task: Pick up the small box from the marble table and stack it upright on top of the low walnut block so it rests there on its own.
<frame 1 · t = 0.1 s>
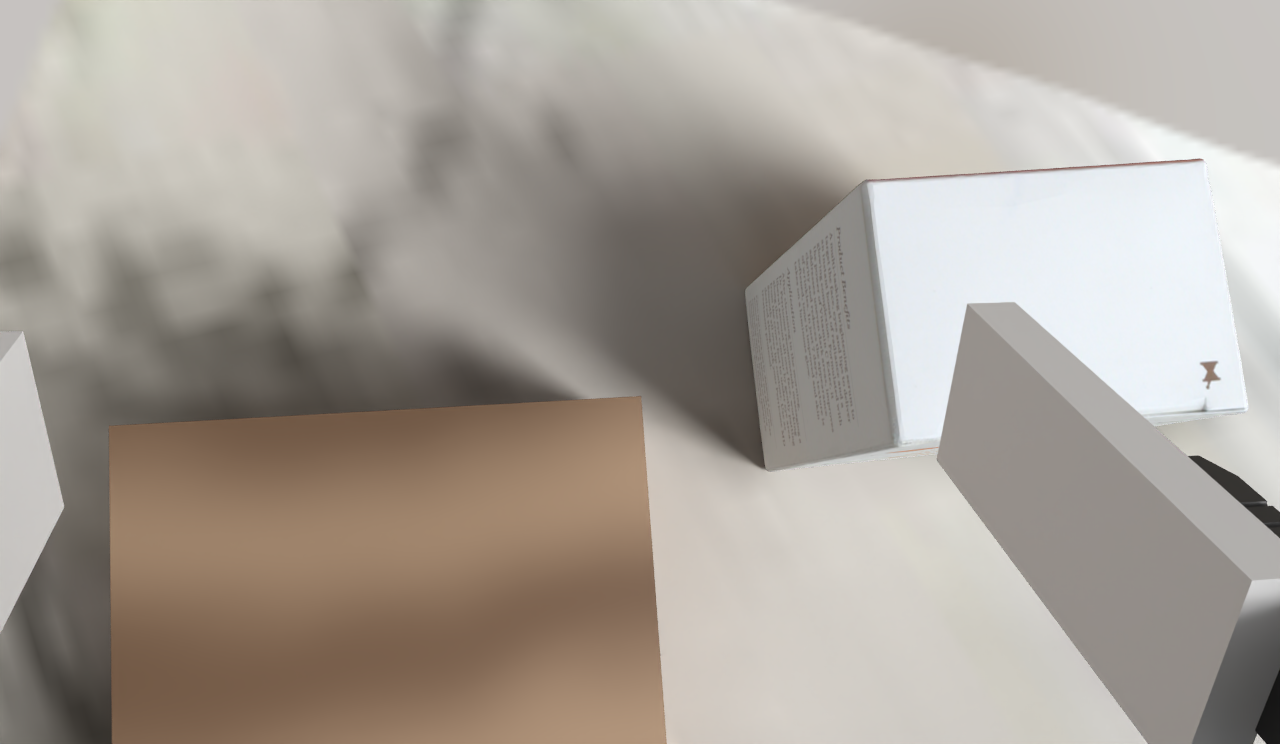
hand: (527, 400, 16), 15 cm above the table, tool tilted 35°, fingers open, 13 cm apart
walnut block: (408, 653, 30), on the table
small box: (876, 369, 33), on the table
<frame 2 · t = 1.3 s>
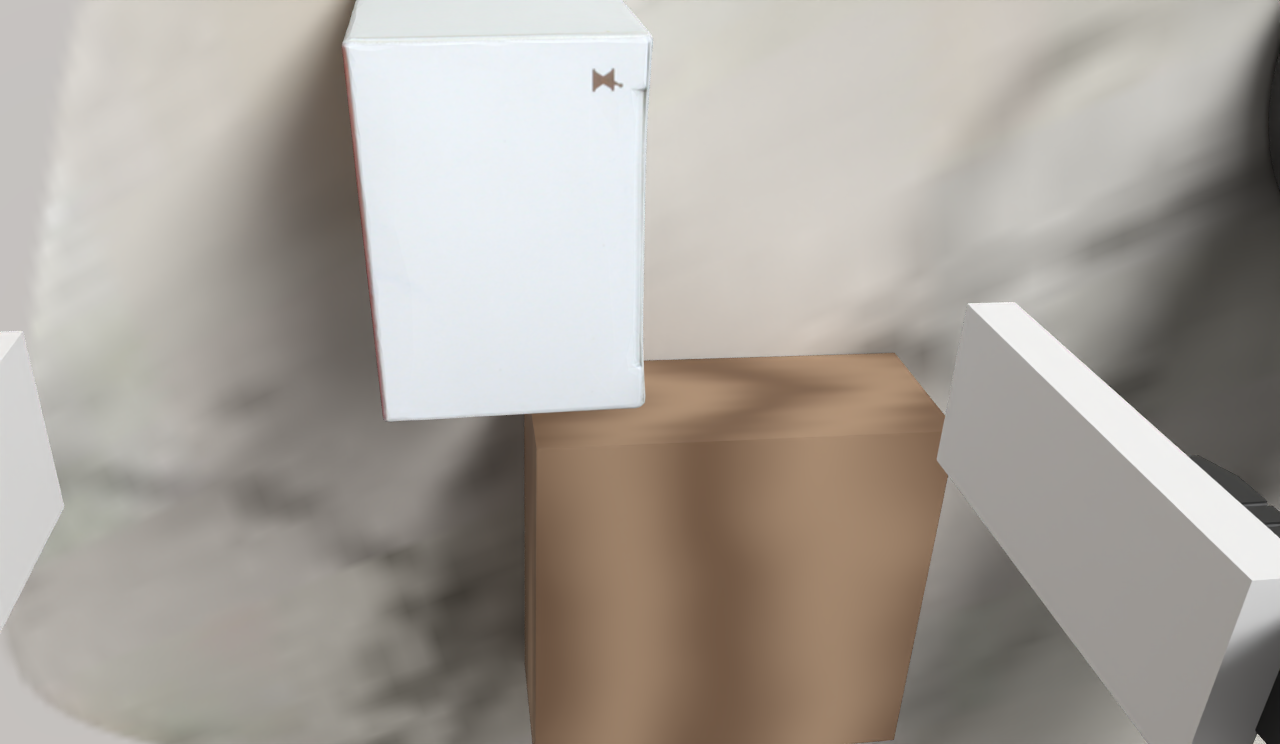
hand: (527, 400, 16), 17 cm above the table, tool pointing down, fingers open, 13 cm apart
walnut block: (700, 515, 38), on the table
small box: (486, 102, 31), on the table
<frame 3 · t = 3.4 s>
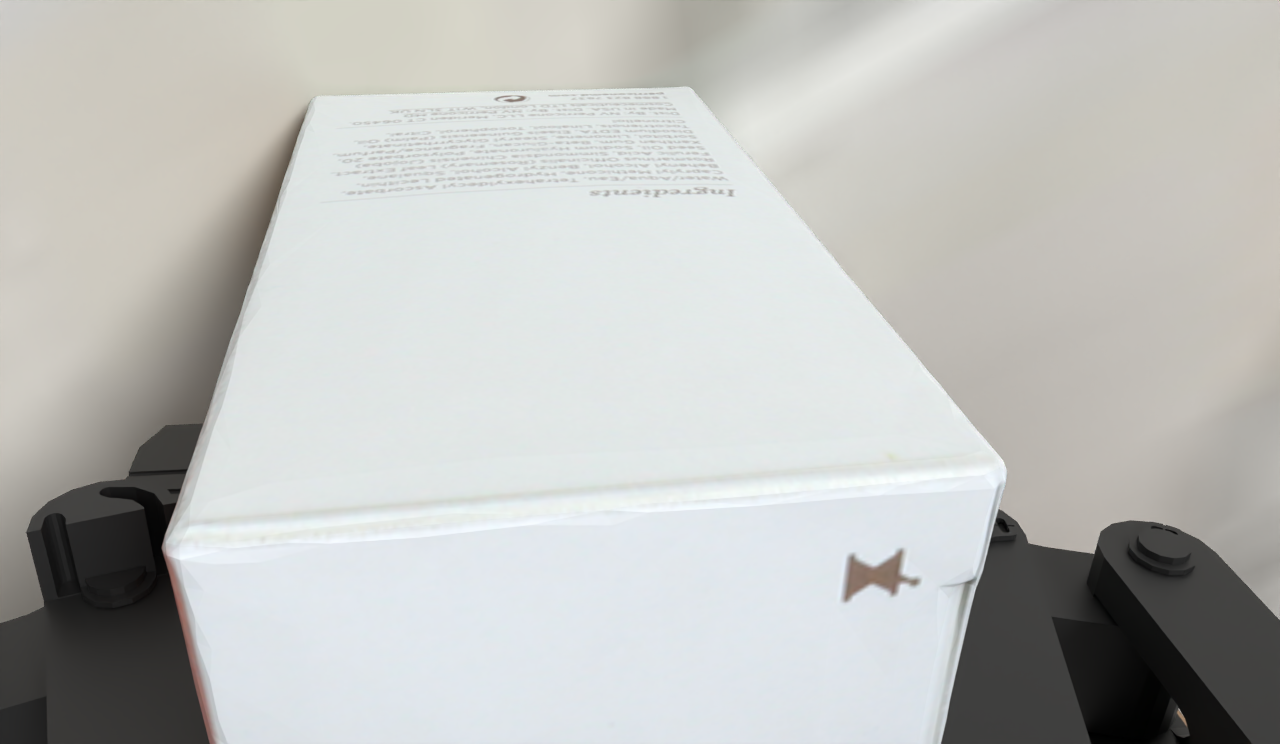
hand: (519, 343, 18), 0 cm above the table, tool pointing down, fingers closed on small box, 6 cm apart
small box: (516, 327, 18), on the table, touching gripper
when the fingers open (6 cm above the table, at t = 7.6 s): small box stays where it is, resting on walnut block.
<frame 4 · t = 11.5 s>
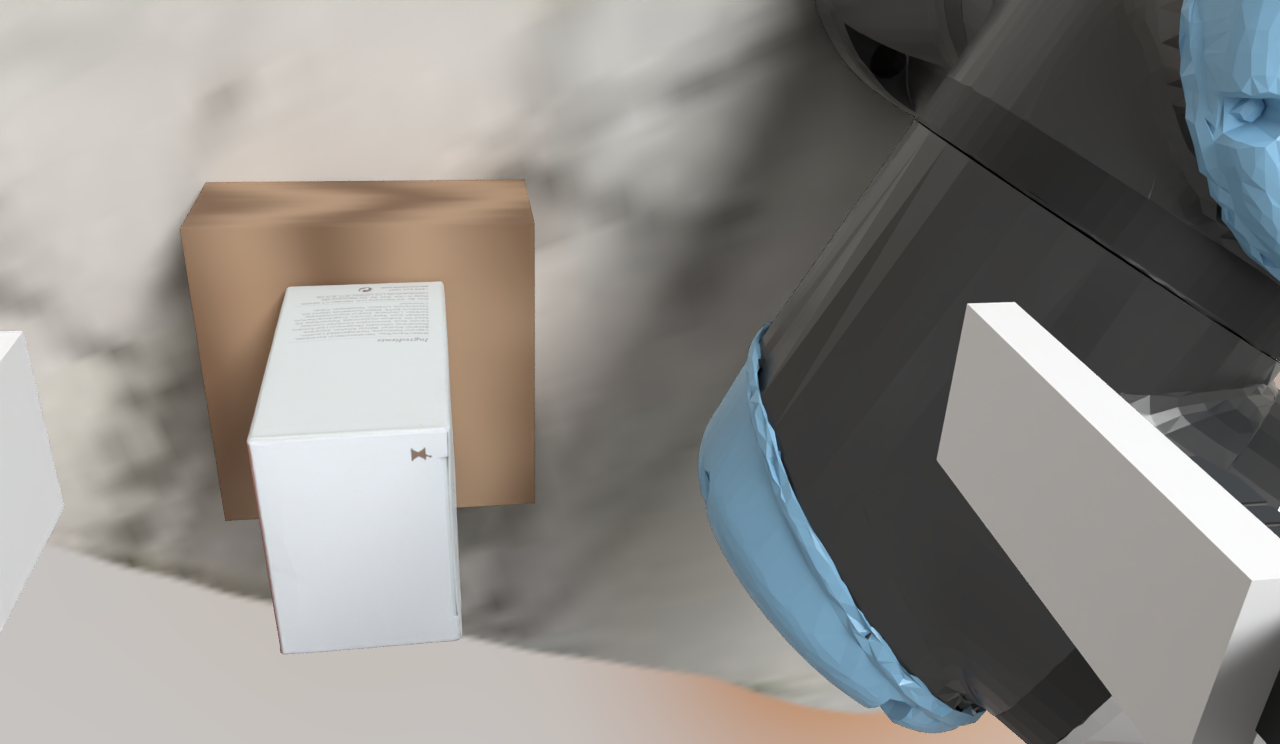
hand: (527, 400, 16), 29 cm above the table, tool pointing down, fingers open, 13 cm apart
walnut block: (378, 321, 46), on the table
small box: (375, 376, 42), point 5 cm above the table, touching walnut block
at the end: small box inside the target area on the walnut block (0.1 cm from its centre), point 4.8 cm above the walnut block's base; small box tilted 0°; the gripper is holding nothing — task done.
